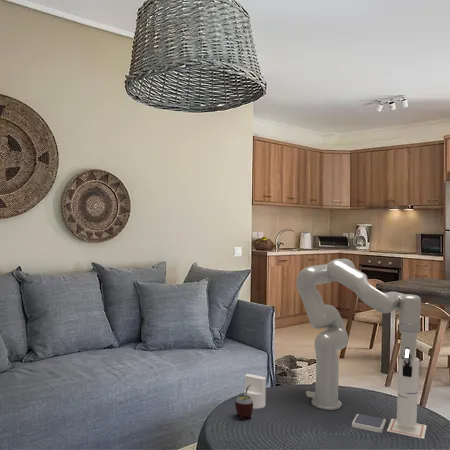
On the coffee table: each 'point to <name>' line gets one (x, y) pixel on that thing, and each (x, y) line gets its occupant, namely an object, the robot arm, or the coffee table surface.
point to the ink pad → (369, 423)
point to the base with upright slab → (256, 389)
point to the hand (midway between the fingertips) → (408, 373)
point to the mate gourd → (244, 406)
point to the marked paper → (407, 429)
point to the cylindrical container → (407, 394)
